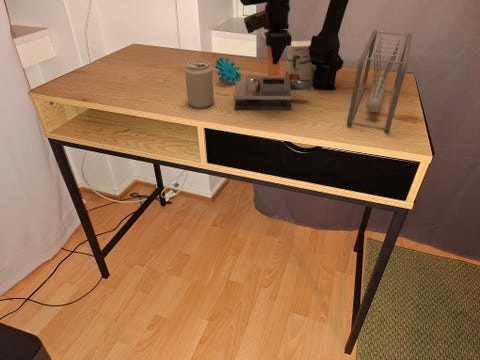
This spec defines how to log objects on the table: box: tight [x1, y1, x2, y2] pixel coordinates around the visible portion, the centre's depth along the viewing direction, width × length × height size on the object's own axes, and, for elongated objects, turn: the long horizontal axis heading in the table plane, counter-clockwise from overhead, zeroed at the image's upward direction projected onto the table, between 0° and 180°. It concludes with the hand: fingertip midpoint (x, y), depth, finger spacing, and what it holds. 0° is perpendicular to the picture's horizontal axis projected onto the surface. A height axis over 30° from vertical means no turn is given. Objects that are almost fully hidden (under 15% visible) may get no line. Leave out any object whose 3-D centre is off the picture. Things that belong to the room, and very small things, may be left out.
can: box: [184, 59, 215, 109], centre depth 101 cm, size 8×8×12 cm
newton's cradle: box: [346, 29, 413, 132], centre depth 97 cm, size 30×10×18 cm, turn 157°
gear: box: [214, 56, 242, 86], centre depth 117 cm, size 11×6×10 cm
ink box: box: [284, 40, 315, 82], centre depth 116 cm, size 9×5×12 cm, turn 98°
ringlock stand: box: [234, 74, 312, 111], centre depth 103 cm, size 22×12×7 cm, turn 89°
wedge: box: [266, 45, 283, 77], centre depth 98 cm, size 4×2×9 cm, turn 89°
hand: (274, 62), depth 99 cm, fingers closed on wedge, 2 cm apart
